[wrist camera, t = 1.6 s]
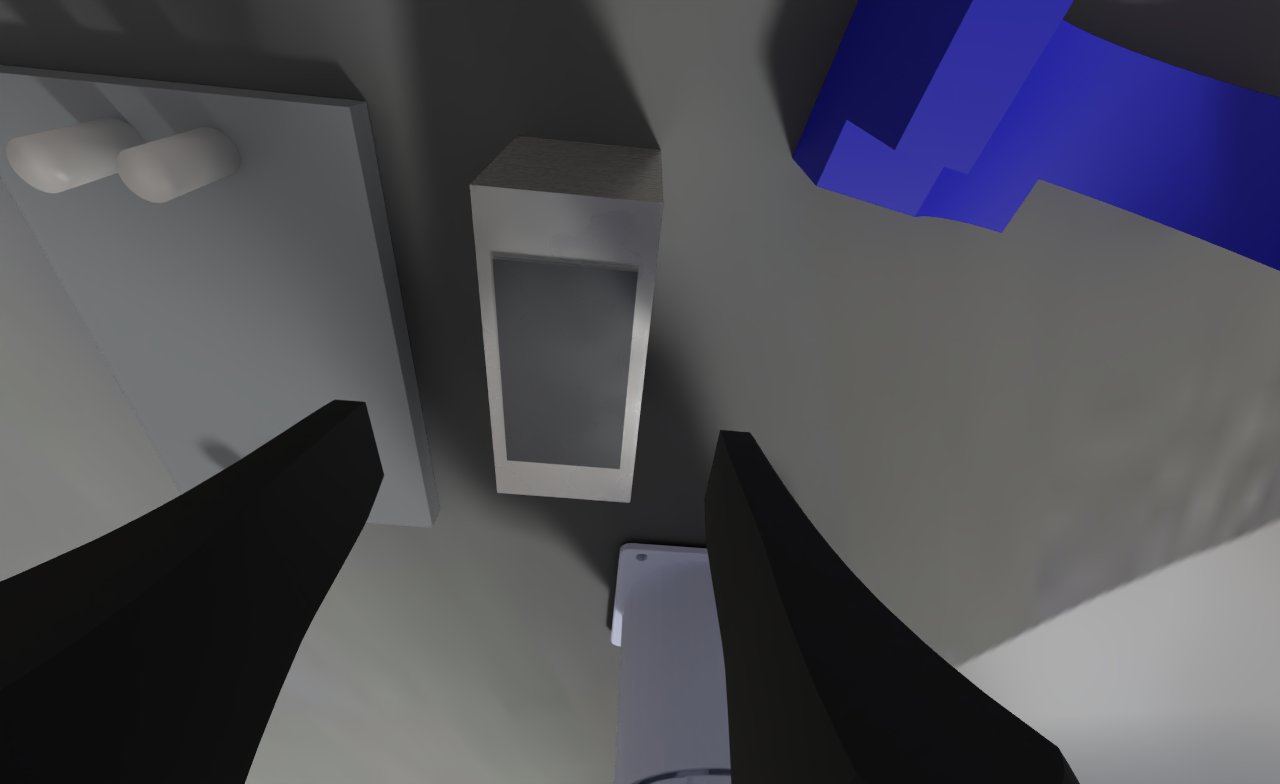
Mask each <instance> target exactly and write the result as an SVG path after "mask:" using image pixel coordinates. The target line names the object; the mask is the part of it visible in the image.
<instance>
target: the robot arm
mask: <svg viewBox="0 0 1280 784" xmlns="http://www.w3.org/2000/svg"><path fill="white" fill-rule="evenodd" d="M383 478H384V472H383V468H382V464H381V460H380V456H379V453H378V449H377V445H376V441H375V437H374V433H373V429H372V425H371V421H370V417H369V413H368V410H367V406H366V402H361V401H349V400H336V399H335V400H333V401H331V402H330V403H328V404H326V405H324V406H323V407H321V408H320V409H318V410H316V411H315V412H313V413H312V414H310V415H308V416H307V417H305V418H304V419H302V420H301V421H299V422H298V423H296V424H295V425H293V426H292V427H290V428H288V429H287V430H285V431H284V432H282V433H281V434H279V435H278V436H276V437H275V438H273V439H272V440H270V441H268V442H267V443H265V444H264V445H262V446H261V447H259V448H258V449H256V450H254V451H253V452H251V453H250V454H248V455H247V456H245V457H243V458H242V459H240V460H239V461H237V462H236V463H234V464H232V465H231V466H229V467H227V468H226V469H224V470H222V471H221V472H219V473H217V474H215V475H214V476H212V477H210V478H209V479H207V480H205V481H204V482H202V483H200V484H199V485H197V486H195V487H194V488H192V489H190V490H188V491H187V492H185V493H183V494H182V495H180V496H178V497H177V498H175V499H173V500H171V501H169V502H168V503H166V504H164V505H162V506H160V507H158V508H157V509H155V510H153V511H151V512H149V513H147V514H145V515H143V516H141V517H140V518H138V519H136V520H134V521H132V522H130V523H128V524H126V525H124V526H122V527H120V528H118V529H116V530H114V531H112V532H110V533H108V534H106V535H104V536H102V537H100V538H98V539H95V540H93V541H91V542H89V543H87V544H85V545H82V546H80V547H78V548H76V549H73V550H71V551H69V552H67V553H64V554H62V555H60V556H58V557H56V558H53V559H51V560H49V561H47V562H44V563H42V564H40V565H38V566H35V567H33V568H31V569H29V570H26V571H24V572H22V573H20V574H18V575H15V576H13V577H10V578H8V579H6V580H3V581H1V582H0V784H245V781H246V778H247V776H248V773H249V770H250V767H251V765H252V762H253V759H254V756H255V754H256V751H257V748H258V746H259V743H260V741H261V738H262V736H263V733H264V730H265V728H266V725H267V723H268V720H269V718H270V715H271V713H272V710H273V708H274V705H275V703H276V700H277V698H278V695H279V693H280V690H281V688H282V686H283V683H284V681H285V679H286V676H287V674H288V672H289V669H290V667H291V665H292V662H293V660H294V658H295V655H296V653H297V651H298V648H299V646H300V644H301V642H302V640H303V638H304V636H305V634H306V632H307V630H308V628H309V626H310V624H311V622H312V620H313V618H314V616H315V614H316V612H317V611H318V609H319V607H320V605H321V603H322V602H323V600H324V598H325V596H326V594H327V593H328V591H329V589H330V587H331V585H332V584H333V582H334V580H335V578H336V576H337V575H338V573H339V571H340V569H341V567H342V566H343V564H344V562H345V560H346V558H347V557H348V555H349V553H350V551H351V549H352V547H353V546H354V544H355V542H356V540H357V538H358V536H359V535H360V533H361V531H362V529H363V527H364V525H365V523H366V521H367V519H368V517H369V514H370V512H371V509H372V507H373V505H374V502H375V500H376V497H377V494H378V491H379V489H380V486H381V483H382V480H383ZM705 526H706V545H707V548H693V547H679V546H666V545H652V544H638V543H627V544H624V545H623V546H622V547H621V548H620V554H619V563H618V573H617V582H616V592H615V602H614V611H613V621H612V631H611V642H612V643H613V644H614V645H616V646H621V652H620V672H619V692H618V713H617V733H616V753H615V773H614V784H1080V783H1079V782H1078V780H1077V778H1076V776H1075V775H1074V773H1073V771H1072V770H1071V768H1070V766H1069V764H1068V763H1067V761H1066V759H1065V758H1064V756H1063V755H1062V753H1061V751H1060V750H1059V748H1058V747H1057V746H1056V745H1054V744H1053V743H1052V742H1050V741H1049V740H1047V739H1046V738H1045V737H1043V736H1042V735H1041V734H1039V733H1038V732H1037V731H1035V730H1034V729H1032V728H1031V727H1030V726H1029V725H1027V724H1026V723H1024V722H1023V721H1022V720H1020V719H1019V718H1018V717H1016V716H1015V715H1014V714H1012V713H1011V712H1010V711H1008V710H1007V709H1006V708H1004V707H1003V706H1001V705H1000V704H999V703H997V702H996V701H995V700H993V699H992V698H991V697H989V696H988V695H987V694H985V693H984V692H983V691H982V690H980V689H979V688H978V687H977V686H975V685H974V684H973V683H972V682H971V681H969V680H968V679H967V678H966V677H965V676H963V675H962V674H961V673H960V672H958V671H957V670H956V669H955V668H954V667H952V666H951V665H950V664H949V663H947V662H946V661H945V660H944V659H943V658H942V657H940V656H939V655H938V654H937V653H936V652H935V651H933V650H932V649H931V648H930V647H929V646H928V645H927V644H925V643H924V642H923V641H922V640H921V639H920V638H919V637H918V636H917V635H916V634H915V633H913V632H912V631H911V630H910V629H909V628H908V627H907V626H906V625H905V624H904V623H903V622H902V621H900V620H899V619H898V618H897V617H896V616H895V615H894V614H893V613H892V612H891V611H890V610H889V609H888V608H887V607H886V606H885V605H884V604H883V603H882V602H880V601H879V600H878V599H877V598H876V597H875V596H874V595H873V594H872V593H871V591H870V590H869V589H868V588H867V587H866V586H865V585H864V584H863V583H862V582H861V581H860V580H859V579H858V578H857V577H856V575H855V574H854V573H853V572H852V571H851V570H850V569H849V568H848V567H847V566H846V564H845V563H844V562H843V561H842V560H841V559H840V557H839V556H838V555H837V554H836V553H835V552H834V550H833V549H832V548H831V547H830V545H829V544H828V543H827V542H826V540H825V539H824V538H823V537H822V536H821V534H820V533H819V532H818V531H817V529H816V528H815V527H814V525H813V524H812V523H811V521H810V520H809V519H808V518H807V516H806V515H805V513H804V512H803V511H802V509H801V508H800V507H799V505H798V504H797V502H796V501H795V500H794V498H793V497H792V495H791V494H790V493H789V491H788V490H787V488H786V487H785V485H784V484H783V482H782V481H781V479H780V478H779V476H778V475H777V473H776V472H775V470H774V469H773V467H772V466H771V464H770V463H769V461H768V460H767V458H766V456H765V455H764V453H763V452H762V450H761V448H760V447H759V445H758V444H757V442H756V440H755V439H754V437H753V436H752V435H751V434H750V432H737V431H725V430H720V434H719V438H718V443H717V447H716V451H715V456H714V460H713V465H712V469H711V474H710V478H709V482H708V487H707V491H706V496H705Z"/></svg>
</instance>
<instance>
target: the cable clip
mask: <svg viewBox="0 0 1280 784" xmlns="http://www.w3.org/2000/svg"><path fill="white" fill-rule="evenodd" d="M1073 1H1074V0H859V1H858V3H857V6H856V8H855V10H854V13H853V15H852V17H851V20H850V22H849V25H848V27H847V29H846V32H845V34H844V36H843V39H842V41H841V43H840V46H839V48H838V51H837V53H836V55H835V58H834V60H833V62H832V65H831V67H830V70H829V72H828V74H827V77H826V79H825V81H824V84H823V86H822V89H821V91H820V93H819V96H818V98H817V100H816V103H815V105H814V108H813V110H812V112H811V115H810V117H809V119H808V122H807V124H806V127H805V129H804V131H803V134H802V136H801V138H800V141H799V143H798V146H797V148H796V150H795V153H794V155H793V157H792V158H793V159H794V161H795V162H796V163H797V164H798V165H799V166H800V168H801V169H802V170H803V171H804V172H805V173H806V175H807V176H808V177H809V178H810V179H811V180H812V181H813V183H814V184H815V185H816V186H818V187H821V188H824V189H827V190H831V191H834V192H837V193H840V194H843V195H847V196H850V197H853V198H856V199H859V200H863V201H866V202H869V203H872V204H875V205H879V206H882V207H885V208H888V209H891V210H895V211H898V212H901V213H904V214H907V215H911V216H914V217H917V216H931V217H940V218H946V219H951V220H956V221H961V222H965V223H969V224H973V225H977V226H980V227H984V228H987V229H991V230H994V231H997V232H1001V233H1002V232H1003V230H1004V229H1005V227H1006V226H1007V224H1008V223H1009V221H1010V220H1011V218H1012V217H1013V215H1014V214H1015V213H1016V211H1017V210H1018V208H1019V207H1020V205H1021V204H1022V202H1023V201H1024V199H1025V198H1026V196H1027V195H1028V194H1029V192H1030V191H1031V189H1032V188H1033V186H1034V185H1035V183H1036V182H1037V180H1038V179H1041V180H1044V181H1046V182H1049V183H1052V184H1055V185H1058V186H1061V187H1064V188H1067V189H1070V190H1072V191H1075V192H1078V193H1081V194H1084V195H1086V196H1089V197H1092V198H1095V199H1097V200H1100V201H1103V202H1106V203H1108V204H1111V205H1114V206H1117V207H1119V208H1122V209H1125V210H1127V211H1130V212H1133V213H1135V214H1138V215H1141V216H1143V217H1146V218H1148V219H1151V220H1154V221H1156V222H1159V223H1162V224H1164V225H1167V226H1169V227H1172V228H1174V229H1177V230H1180V231H1182V232H1185V233H1187V234H1190V235H1192V236H1195V237H1197V238H1200V239H1203V240H1205V241H1208V242H1210V243H1213V244H1215V245H1218V246H1220V247H1223V248H1225V249H1228V250H1230V251H1233V252H1235V253H1238V254H1240V255H1242V256H1245V257H1247V258H1250V259H1252V260H1255V261H1257V262H1260V263H1262V264H1264V265H1267V266H1269V267H1272V268H1274V269H1277V270H1279V271H1280V98H1278V97H1275V96H1271V95H1267V94H1264V93H1260V92H1257V91H1253V90H1250V89H1246V88H1243V87H1240V86H1236V85H1233V84H1229V83H1226V82H1223V81H1219V80H1216V79H1213V78H1210V77H1206V76H1203V75H1200V74H1197V73H1194V72H1191V71H1188V70H1185V69H1182V68H1178V67H1175V66H1173V65H1170V64H1167V63H1164V62H1161V61H1158V60H1155V59H1152V58H1150V57H1147V56H1144V55H1141V54H1139V53H1136V52H1133V51H1131V50H1128V49H1125V48H1123V47H1120V46H1118V45H1115V44H1113V43H1111V42H1108V41H1106V40H1103V39H1101V38H1099V37H1097V36H1094V35H1092V34H1090V33H1088V32H1086V31H1084V30H1081V29H1079V28H1077V27H1075V26H1073V25H1072V24H1070V23H1068V22H1066V21H1064V20H1063V18H1064V16H1065V14H1066V13H1067V11H1068V9H1069V8H1070V6H1071V4H1072V3H1073Z"/></svg>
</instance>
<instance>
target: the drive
mask: <svg viewBox="0 0 1280 784" xmlns="http://www.w3.org/2000/svg"><path fill="white" fill-rule="evenodd" d="M470 195H471V206H472V217H473V228H474V239H475V250H476V262H477V273H478V284H479V295H480V306H481V317H482V328H483V340H484V351H485V362H486V373H487V384H488V395H489V406H490V417H491V429H492V440H493V451H494V462H495V473H496V484H497V493H507V494H520V495H533V496H547V497H560V498H573V499H586V500H599V501H613V502H626V503H630V499H631V490H632V481H633V472H634V463H635V455H636V446H637V437H638V428H639V419H640V410H641V401H642V392H643V383H644V374H645V365H646V356H647V347H648V338H649V329H650V320H651V311H652V303H653V294H654V285H655V276H656V267H657V258H658V249H659V240H660V231H661V222H662V213H663V204H664V201H663V181H662V161H661V150H655V149H645V148H635V147H625V146H615V145H604V144H594V143H584V142H574V141H564V140H554V139H544V138H533V137H523V136H517V137H516V138H515V139H514V140H513V141H512V142H511V143H510V144H509V145H508V146H507V147H506V148H505V149H504V150H503V151H502V152H501V153H500V154H499V155H498V156H497V157H496V158H495V159H494V160H493V161H492V162H491V163H490V164H489V165H488V166H487V167H486V168H485V169H484V170H483V171H482V173H481V174H480V175H479V176H478V177H477V178H476V179H475V180H474V181H473V182H472V183H471V184H470Z"/></svg>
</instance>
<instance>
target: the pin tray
mask: <svg viewBox="0 0 1280 784" xmlns="http://www.w3.org/2000/svg"><path fill="white" fill-rule="evenodd" d="M0 176H1V178H2V180H3V181H4V183H5V185H6V187H7V188H8V190H9V192H10V194H11V196H12V197H13V199H14V201H15V203H16V204H17V206H18V208H19V210H20V211H21V213H22V215H23V217H24V218H25V220H26V222H27V224H28V226H29V227H30V229H31V231H32V233H33V234H34V236H35V238H36V240H37V241H38V243H39V245H40V247H41V248H42V250H43V252H44V254H45V255H46V257H47V259H48V261H49V263H50V264H51V266H52V268H53V270H54V271H55V273H56V275H57V277H58V278H59V280H60V282H61V284H62V285H63V287H64V289H65V291H66V293H67V294H68V296H69V298H70V300H71V301H72V303H73V305H74V307H75V308H76V310H77V312H78V314H79V315H80V317H81V319H82V321H83V322H84V324H85V326H86V328H87V330H88V331H89V333H90V335H91V337H92V338H93V340H94V342H95V344H96V345H97V347H98V349H99V351H100V352H101V354H102V356H103V358H104V360H105V361H106V363H107V365H108V367H109V368H110V370H111V372H112V374H113V375H114V377H115V379H116V381H117V382H118V384H119V386H120V388H121V390H122V391H123V393H124V395H125V397H126V398H127V400H128V402H129V404H130V405H131V407H132V409H133V411H134V412H135V414H136V416H137V418H138V419H139V421H140V423H141V425H142V427H143V428H144V430H145V432H146V434H147V435H148V437H149V439H150V441H151V442H152V444H153V446H154V448H155V449H156V451H157V453H158V455H159V457H160V458H161V460H162V462H163V464H164V465H165V467H166V469H167V471H168V472H169V474H170V476H171V478H172V479H173V481H174V483H175V485H176V486H177V488H178V490H179V492H180V494H181V495H182V494H183V493H185V492H187V491H188V490H190V489H192V488H194V487H195V486H197V485H199V484H200V483H202V482H204V481H205V480H207V479H209V478H210V477H212V476H214V475H215V474H217V473H219V472H221V471H222V470H224V469H226V468H227V467H229V466H231V465H232V464H234V463H236V462H237V461H239V460H240V459H242V458H243V457H245V456H247V455H248V454H250V453H251V452H253V451H254V450H256V449H258V448H259V447H261V446H262V445H264V444H265V443H267V442H268V441H270V440H272V439H273V438H275V437H276V436H278V435H279V434H281V433H282V432H284V431H285V430H287V429H288V428H290V427H292V426H293V425H295V424H296V423H298V422H299V421H301V420H302V419H304V418H305V417H307V416H308V415H310V414H312V413H313V412H315V411H316V410H318V409H320V408H321V407H323V406H324V405H326V404H328V403H330V402H331V401H333V400H335V399H336V400H349V401H361V402H366V406H367V410H368V413H369V417H370V421H371V425H372V429H373V433H374V437H375V441H376V445H377V449H378V453H379V456H380V460H381V464H382V468H383V472H384V478H383V480H382V483H381V486H380V489H379V491H378V494H377V497H376V500H375V502H374V505H373V507H372V509H371V512H370V514H369V517H368V519H367V521H366V523H377V524H391V525H404V526H418V527H432V528H433V525H434V523H435V520H436V518H437V516H438V513H439V511H440V507H439V502H438V496H437V491H436V485H435V480H434V474H433V468H432V463H431V457H430V452H429V446H428V441H427V435H426V430H425V424H424V419H423V413H422V408H421V402H420V396H419V391H418V385H417V380H416V374H415V369H414V363H413V358H412V352H411V347H410V341H409V336H408V330H407V324H406V319H405V313H404V308H403V302H402V297H401V291H400V286H399V280H398V275H397V269H396V264H395V258H394V252H393V247H392V241H391V236H390V230H389V225H388V219H387V214H386V208H385V203H384V197H383V192H382V186H381V180H380V175H379V169H378V164H377V158H376V153H375V147H374V142H373V136H372V131H371V125H370V120H369V114H368V108H367V103H366V101H357V100H347V99H337V98H327V97H317V96H307V95H297V94H287V93H277V92H267V91H257V90H247V89H237V88H227V87H217V86H207V85H197V84H187V83H177V82H167V81H157V80H147V79H137V78H127V77H117V76H107V75H97V74H87V73H77V72H67V71H57V70H47V69H37V68H27V67H17V66H7V65H0Z"/></svg>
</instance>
